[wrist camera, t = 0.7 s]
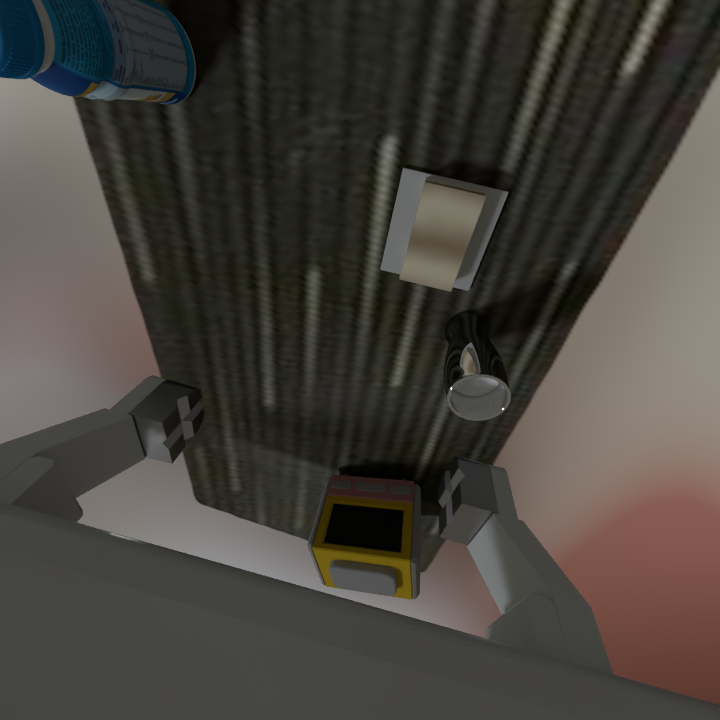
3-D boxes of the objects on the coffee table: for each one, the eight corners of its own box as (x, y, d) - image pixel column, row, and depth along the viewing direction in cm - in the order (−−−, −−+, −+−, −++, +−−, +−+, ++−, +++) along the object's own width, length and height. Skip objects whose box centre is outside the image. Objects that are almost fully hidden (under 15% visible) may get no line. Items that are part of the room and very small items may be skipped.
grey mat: (403, 167, 38) (403, 168, 37) (507, 191, 37) (508, 192, 37) (380, 268, 45) (380, 269, 44) (468, 289, 44) (468, 290, 44)
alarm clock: (421, 472, 68) (418, 570, 53) (421, 516, 76) (419, 610, 62) (328, 465, 72) (301, 554, 57) (339, 507, 80) (318, 594, 66)
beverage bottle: (215, 67, 36) (35, 17, 19) (172, 124, 39) (-7, 122, 23) (150, -25, 32) (-129, -175, 16) (111, 47, 36) (-148, -17, 20)
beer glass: (484, 301, 45) (504, 365, 33) (497, 342, 48) (519, 415, 36) (434, 317, 48) (435, 382, 36) (450, 356, 51) (456, 427, 39)
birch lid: (425, 178, 37) (424, 182, 35) (482, 191, 37) (486, 196, 35) (401, 270, 44) (399, 279, 42) (449, 282, 44) (450, 291, 41)
